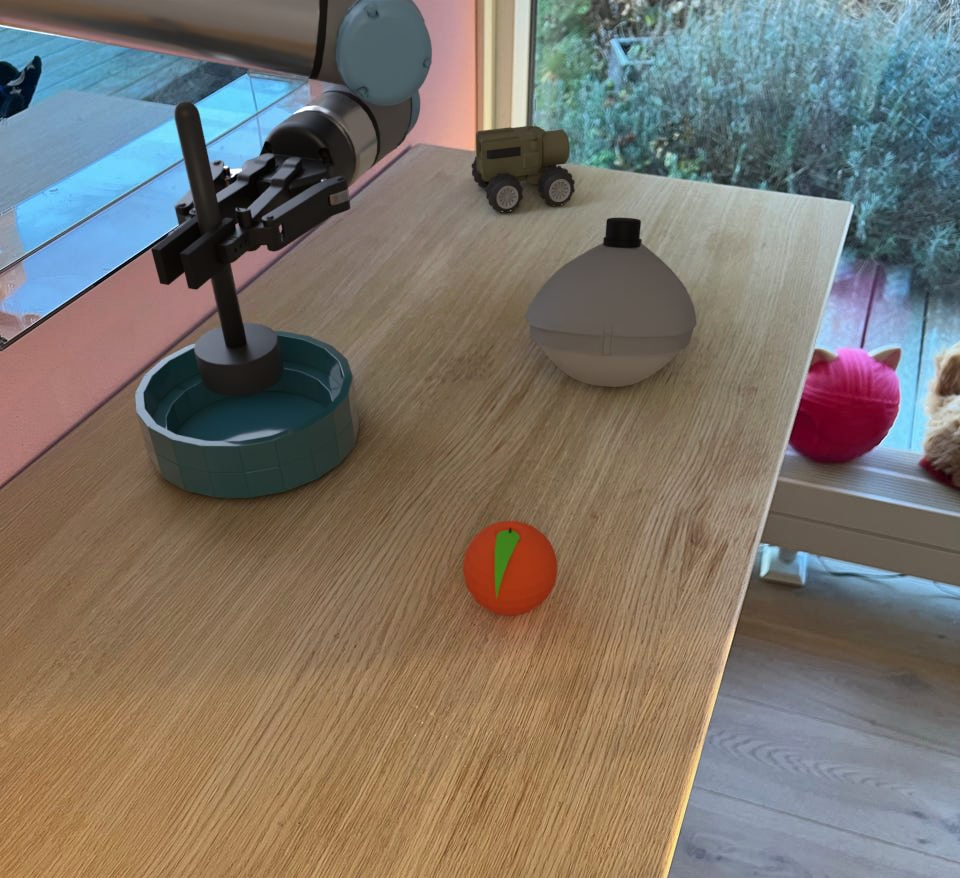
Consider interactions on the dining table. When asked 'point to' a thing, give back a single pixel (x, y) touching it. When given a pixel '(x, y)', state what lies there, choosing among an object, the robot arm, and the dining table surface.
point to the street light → (613, 311)
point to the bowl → (250, 423)
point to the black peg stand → (224, 288)
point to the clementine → (510, 567)
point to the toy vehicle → (522, 165)
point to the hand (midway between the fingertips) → (174, 269)
